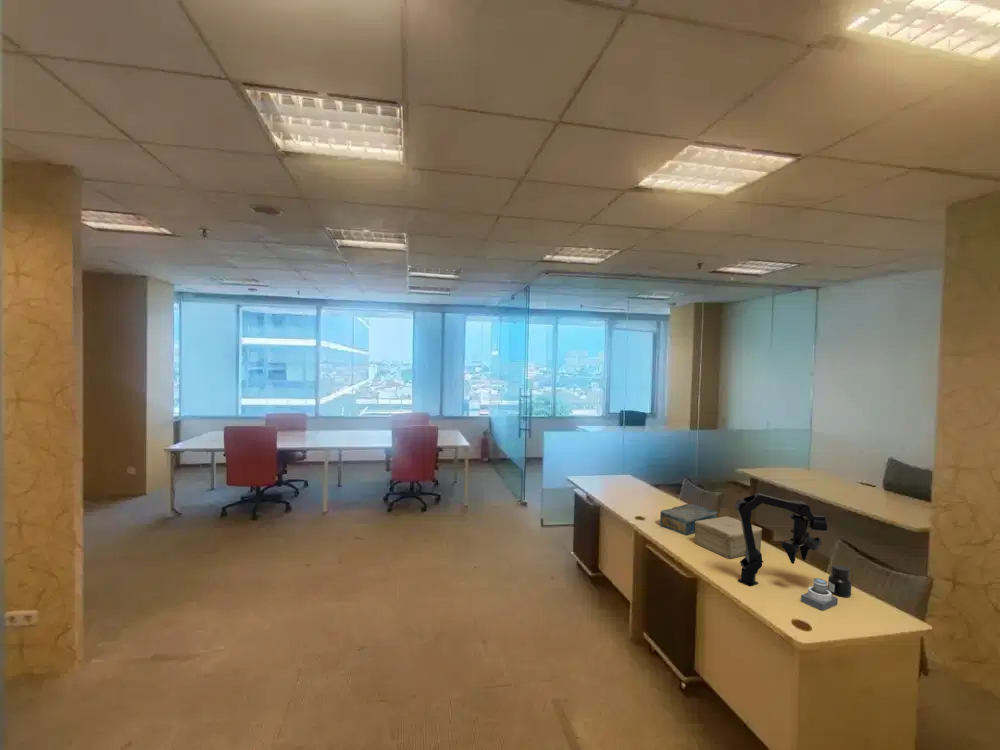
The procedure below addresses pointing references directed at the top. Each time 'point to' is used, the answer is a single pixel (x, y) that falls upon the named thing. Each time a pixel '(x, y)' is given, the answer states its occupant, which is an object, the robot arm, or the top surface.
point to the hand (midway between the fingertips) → (798, 561)
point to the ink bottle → (840, 581)
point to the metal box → (685, 518)
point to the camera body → (819, 599)
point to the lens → (820, 586)
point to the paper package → (724, 536)
